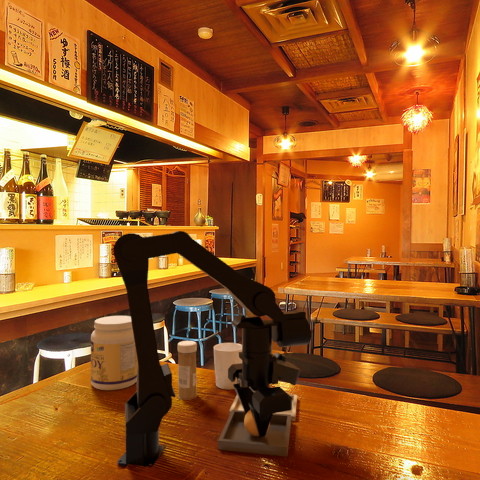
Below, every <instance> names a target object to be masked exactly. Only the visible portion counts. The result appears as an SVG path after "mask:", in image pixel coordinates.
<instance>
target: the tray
mask: <svg viewBox="0 0 480 480" xmlns="http://www.w3.org/2000/svg"><path fill="white" fill-rule="evenodd" d="M288 394H289V395H290V396H291V397H292V410H290V411H284V412H278V413H277V414H290V415H291V422H296V417H297V404H298V403H297V402H298V394H290V393H288ZM232 410H241V411H244V409H243V407H242V405H241V402H240V400H239V398H238V395H237V394H236V396H235V398H234V399H233V403H231V406H230V408H229V411H228V415H229V416H230V413H231V411H232Z"/></svg>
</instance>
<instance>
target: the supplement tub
mask: <svg viewBox="0 0 480 480" xmlns="http://www.w3.org/2000/svg"><path fill="white" fill-rule="evenodd" d="M93 328H94V330H93V331H92V333H91V335H90V383H91V385H92V387H94V388H95V389H98V390H101V391H115V390H116V391H117V390H123V389H126V388H129V387H131V386H133V385H134V384H135V383H136V384H137V366H138V360H137V353H136V347H135V341H134V334H133V328H132V322H131V315H110V316H109V315H108V316H104V317H100V318H97V319H96V320H94V325H93Z"/></svg>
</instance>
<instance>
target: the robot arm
mask: <svg viewBox="0 0 480 480" xmlns="http://www.w3.org/2000/svg"><path fill="white" fill-rule="evenodd" d="M112 253H113V257H114V259H115V262H116V265H117V267H118V268H117V269H118V270H119V274H120V276H121V278H122V282H123V284H124V286H125V288H126V289H125V290H126V296H127V301H128V308H129V309H128V310H129V314H130V315H129V316H130V317H131V322H132V328H133V334H134V341H135V347H136V353H137V360H138V366H137V382H136V391H135V392H134V393H133V394H132V395H131V396H130V397H129V398H128V400H126V402H125V403H124V419H125V421H124V425H125V452H124V453H123V455H122V456H121V457H119V459H118V460H117V463H116V464H117V466H123V467H128V465H130V466H131V465H132V466H138V467H139V466H140V467H150V468H151V467H153V466H154V465H155V464H156V462H157V461H158V460H159V458H160V457H161V455H162V454H163V452H164V451H165V450H166V448H167V445H164V444H160V426H161V423H162V420H163V417H165V416H166V415H167V414H168V413H169V412H170V410H171V409H172V406H173V398H176V396H177V395H176V393H175V390H174V387H173V373H172V370H171V368H170V365H169V363H165V364H162V365H161V362H160V358H159V351H158V346H157V345H158V343H157V341H156V339H157V338H156V333H155V326H154V319H153V312H152V307H151V301H150V294H149V288H148V287H149V286H148V280H149V264H150V263H149V262H150V261H149V259H153V258H154V259H155V258H159V257H164V256H165V257H166V256H168V255H174V254H177V255H179V256H180V257H182V258H183V259H184V260H185V261H187V262H188V263H190V264H191V265H193V266H194V267H195V268H197V269H199V270H200V272H202V273H204V274H206V275H207V276H208V277H209V278H211V279H212V280H214V281H215V282H216V283H218V284H219V285H220V286H222V287H223V288H224V289H225V290H226V291H227V292H228V293H229V294H230V295H231V297H232V298H233V299H234V300H235V301H236V302H237V303H238V305H240V306H241V308H243V309H244V310H246V311H248V312H249V313H251V314H253V315H254V316H246V315H244V314H243V313H241V312H240V313H238V315H237V317H236V318H234V319H233V320H232V321H231V325H232V326H233V327H234V328H236V329H238V330H239V329H241V345H242V352H239V358H240V359H241V360H242V363H240V364H232V365H231V366H230V367H229V369H228V378H229V380H230V381H231V382H235V379H236V378H237V384H233V387H234V389H233V390H234V391H235V393H236V395H238V398H239V400H240V402H241V405H242V407H243V409H244V412H245V414H247V412H248V411H249V410H251V413H252V416H253V419H254V422H255V425H256V428H257V431H258V434H259V436H260V437H264V436H265V435H266V432H267V429H268V426H269V423H270V420H271V417H272V415H273V413H278V412H284V411H290V410H292V397H291V396H290V395H289V394H290V393H288V392H287V391H285V390H284V389H283V388H282V387H280V386H274V387H271V386H270V385H278V384H279V381H280V382H284V383H288V384H290V385H291V386H296V385H297V382H298V380H299V376H300V373H301V369H300V368H299V367H298V366H297V365H294V364H293V363H291V362H289V361H287V360H286V356H285V355H283V354H282V353H279V352H275V353H274V354H273V353H272V351H273V346H272V345H273V342H274V343H276V345H277V346H278V347H279V348H287V347H296V346H306V345H309V344H310V342H311V340H312V330H311V327H310V323H309V321H308V319H307V312H306V311H304V310H302V309H300V310H299V309H298V310H297V309H296V310H292V311H283V310H282V309H281V308H280V306H279V305H278V304H277V302H276V301H277V300H276V299H277V298H276V293H275V292H274V290H273V289H272V288H271V287H269V286H267V285H265V284H263V283H261V282H258V281H257V280H255V279H252V278H250V277H248V276H246V275H244V274H241V273H240V272H238V271H237V270H235V268H232V267H231V266H230V265H229V264H227V263H226V262H225V261H224V260H222V259H221V258H219V257H218V256H217V255H215V254H213V253H212V252H211V251H210V250H208V249H207V248H205V247H204V246H203V245H202V244H200V243H199V242H197V240H196V239H193V238H192V236H191V235H190V234H189V233H188V232H187V231H184V230H183V231H182V230H177V231H173V232H171V233H164V234H157V235H150V236H144V237H143V236H141V235H140V234H137V233H131V232H129V233H126V234H125V233H124V234H123V235H121V236H119V237H118V238H117V240H116V241H115V242H114V245H113V250H112ZM264 316H265V317H267V318H269V319H262V318H261V317H264Z"/></svg>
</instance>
